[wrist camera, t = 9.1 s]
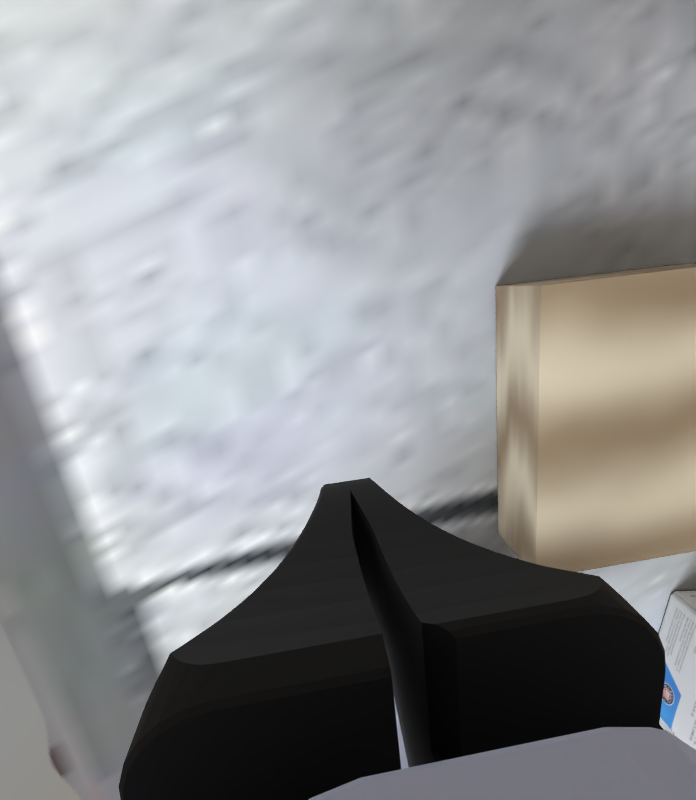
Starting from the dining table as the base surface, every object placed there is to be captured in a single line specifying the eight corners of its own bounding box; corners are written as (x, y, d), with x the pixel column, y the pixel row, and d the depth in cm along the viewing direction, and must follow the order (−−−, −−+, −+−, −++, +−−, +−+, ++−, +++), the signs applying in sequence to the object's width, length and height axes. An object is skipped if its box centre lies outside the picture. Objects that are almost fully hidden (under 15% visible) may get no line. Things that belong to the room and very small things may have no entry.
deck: (657, 506, 25) (722, 546, 21) (498, 532, 24) (535, 578, 20) (683, 263, 21) (768, 258, 17) (495, 286, 20) (540, 285, 17)
